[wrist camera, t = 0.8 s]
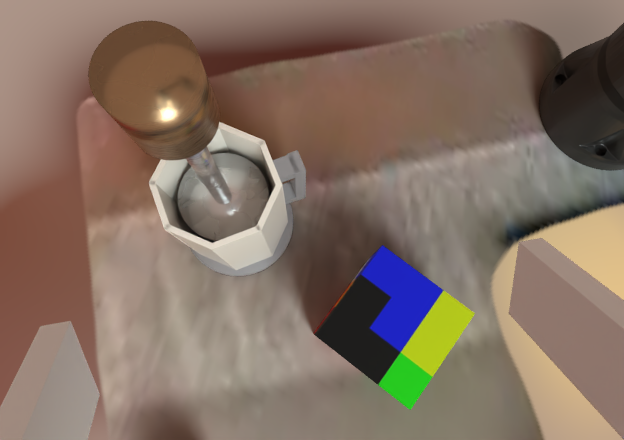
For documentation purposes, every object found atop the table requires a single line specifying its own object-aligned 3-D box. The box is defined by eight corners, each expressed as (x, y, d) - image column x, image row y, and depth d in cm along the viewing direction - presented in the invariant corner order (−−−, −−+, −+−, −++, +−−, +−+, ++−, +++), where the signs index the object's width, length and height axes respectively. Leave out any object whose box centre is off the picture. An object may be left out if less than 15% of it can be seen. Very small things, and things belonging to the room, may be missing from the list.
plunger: (250, 144, 44) (200, -29, 22) (281, 222, 42) (259, 116, 21) (168, 174, 43) (34, 24, 22) (196, 255, 41) (82, 180, 20)
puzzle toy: (367, 260, 52) (382, 245, 43) (442, 315, 51) (475, 313, 41) (313, 333, 51) (315, 335, 41) (389, 393, 49) (410, 409, 40)
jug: (283, 152, 55) (275, 90, 40) (321, 247, 52) (328, 217, 38) (172, 193, 54) (122, 144, 39) (206, 293, 51) (167, 280, 37)
